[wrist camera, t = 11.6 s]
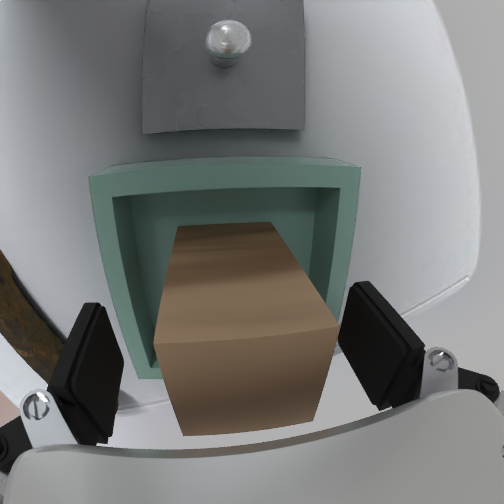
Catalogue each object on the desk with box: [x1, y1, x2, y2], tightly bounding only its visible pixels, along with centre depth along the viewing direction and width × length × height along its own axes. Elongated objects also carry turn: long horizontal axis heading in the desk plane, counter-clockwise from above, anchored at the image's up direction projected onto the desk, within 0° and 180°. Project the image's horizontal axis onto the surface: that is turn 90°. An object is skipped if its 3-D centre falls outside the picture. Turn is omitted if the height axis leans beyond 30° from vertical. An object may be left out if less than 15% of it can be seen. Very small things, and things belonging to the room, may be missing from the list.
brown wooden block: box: [153, 222, 340, 436], centre depth 12 cm, size 5×5×9 cm
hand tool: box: [0, 250, 118, 414], centre depth 14 cm, size 19×4×5 cm, turn 21°
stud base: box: [142, 0, 305, 134], centre depth 10 cm, size 8×8×4 cm
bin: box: [89, 156, 361, 379], centre depth 15 cm, size 12×12×4 cm
